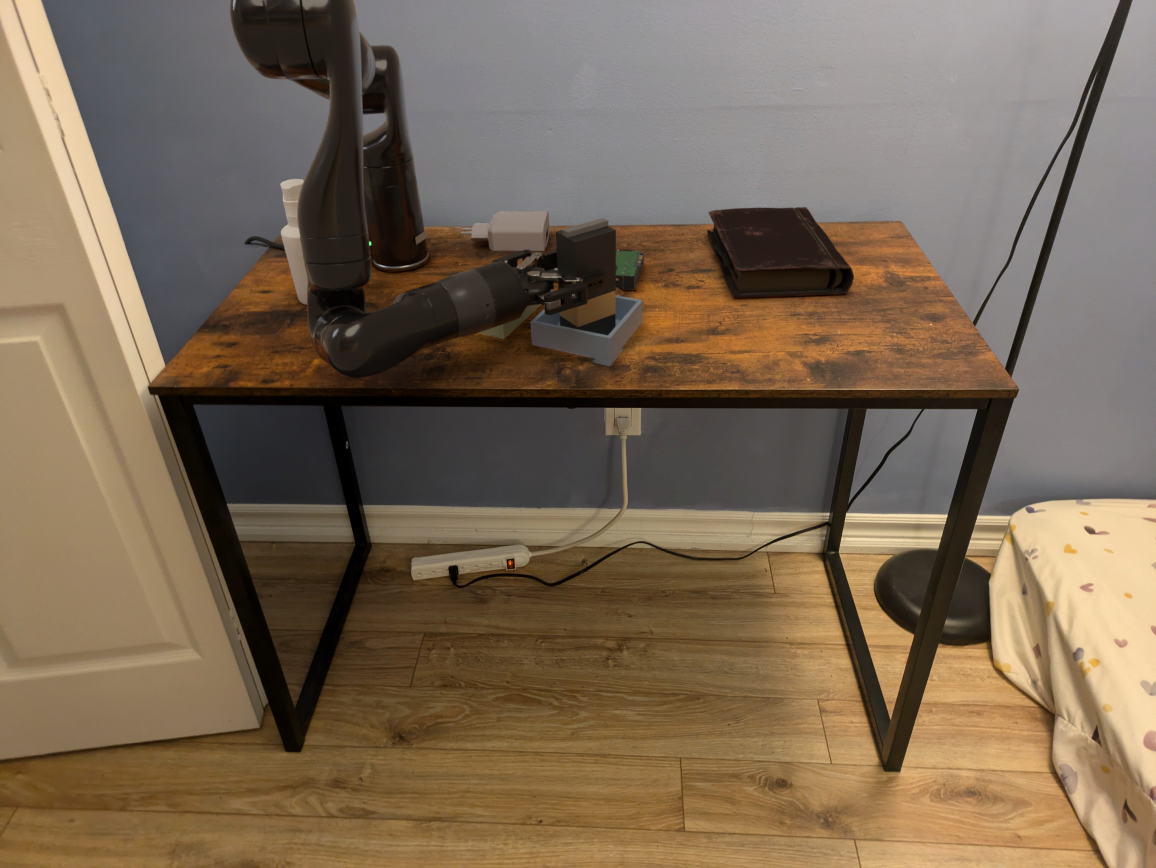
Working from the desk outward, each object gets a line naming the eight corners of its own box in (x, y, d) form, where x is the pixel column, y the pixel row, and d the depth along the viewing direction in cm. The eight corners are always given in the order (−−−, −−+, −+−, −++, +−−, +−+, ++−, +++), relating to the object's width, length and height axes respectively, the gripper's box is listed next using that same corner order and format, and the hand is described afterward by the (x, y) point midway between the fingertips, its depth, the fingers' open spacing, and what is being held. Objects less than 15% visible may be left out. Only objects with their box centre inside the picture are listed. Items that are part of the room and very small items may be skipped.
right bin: (532, 349, 105) (530, 321, 103) (568, 312, 114) (567, 286, 111) (610, 366, 101) (610, 338, 98) (642, 327, 109) (642, 300, 107)
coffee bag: (615, 333, 107) (616, 223, 97) (578, 347, 104) (574, 235, 94) (597, 321, 110) (595, 214, 100) (560, 334, 107) (555, 225, 97)
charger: (468, 234, 139) (550, 234, 138) (458, 254, 132) (544, 255, 131) (465, 208, 137) (548, 208, 135) (455, 228, 129) (543, 228, 128)
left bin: (434, 328, 111) (430, 301, 108) (476, 294, 119) (473, 269, 117) (504, 343, 107) (502, 316, 104) (543, 307, 115) (541, 281, 113)
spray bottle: (352, 291, 121) (326, 178, 111) (323, 309, 117) (294, 193, 106) (318, 284, 124) (290, 172, 113) (289, 302, 119) (257, 187, 108)
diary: (806, 232, 136) (811, 204, 133) (850, 295, 116) (856, 264, 113) (702, 236, 136) (704, 208, 133) (727, 300, 116) (731, 269, 113)
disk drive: (543, 288, 121) (636, 292, 118) (542, 271, 119) (636, 275, 117) (556, 261, 129) (643, 264, 127) (555, 245, 127) (644, 248, 125)
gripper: (504, 292, 86) (618, 256, 94) (446, 252, 96) (554, 222, 103) (510, 350, 91) (618, 311, 98) (454, 306, 100) (556, 274, 108)
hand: (585, 265), depth 101 cm, fingers open, 8 cm apart
